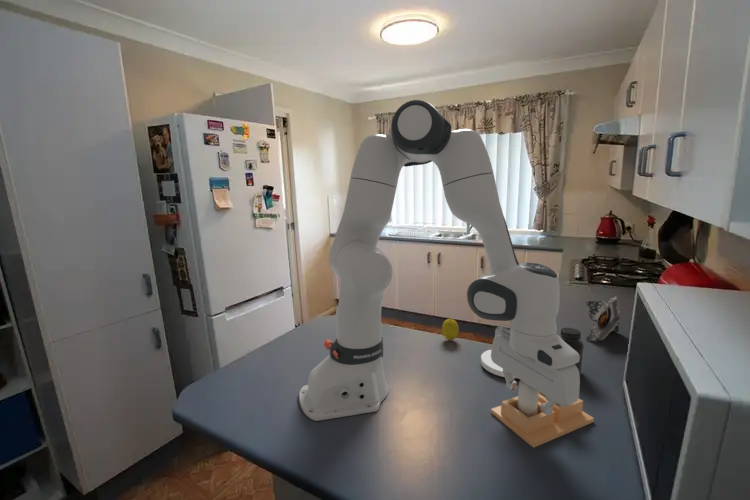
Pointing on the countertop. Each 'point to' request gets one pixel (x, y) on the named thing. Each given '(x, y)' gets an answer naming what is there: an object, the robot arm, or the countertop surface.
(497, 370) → the plastic lid
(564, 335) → the supplement bottle
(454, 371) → the countertop surface
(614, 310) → the ornate grey picture frame
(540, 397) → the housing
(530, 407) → the peg
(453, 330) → the lemon
